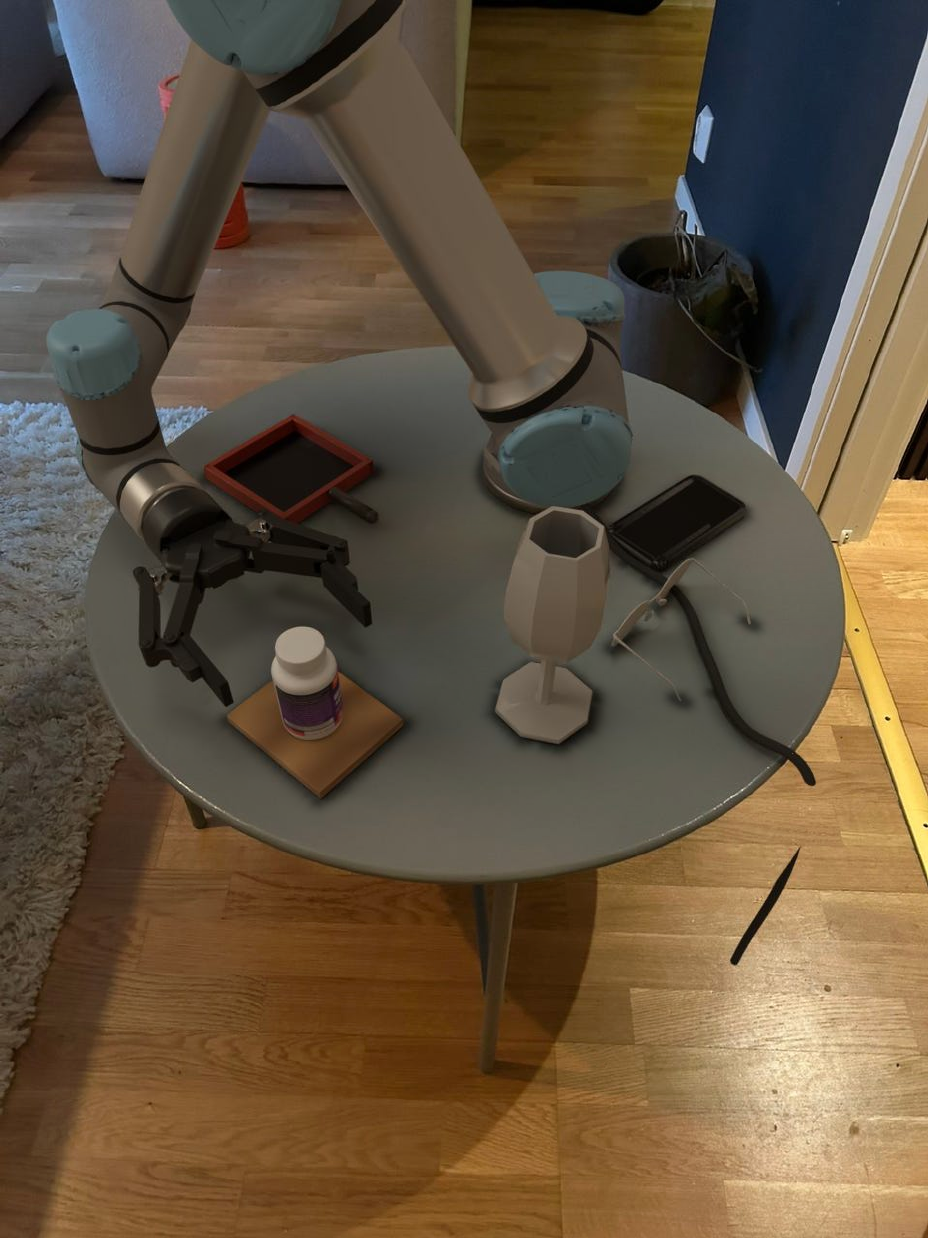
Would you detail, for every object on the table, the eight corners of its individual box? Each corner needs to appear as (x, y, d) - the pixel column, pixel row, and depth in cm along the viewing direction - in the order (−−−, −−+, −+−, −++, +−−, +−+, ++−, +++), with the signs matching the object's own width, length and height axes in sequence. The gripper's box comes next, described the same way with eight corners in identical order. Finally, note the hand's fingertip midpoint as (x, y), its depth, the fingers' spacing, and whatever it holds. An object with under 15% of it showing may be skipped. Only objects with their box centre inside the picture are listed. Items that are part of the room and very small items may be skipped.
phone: (604, 528, 97) (694, 471, 103) (602, 536, 97) (692, 479, 104) (660, 568, 93) (751, 506, 99) (658, 575, 93) (748, 514, 100)
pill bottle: (353, 728, 79) (343, 656, 72) (294, 751, 77) (278, 679, 70) (331, 684, 82) (319, 611, 75) (274, 705, 81) (256, 632, 73)
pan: (420, 499, 101) (419, 483, 100) (331, 562, 94) (329, 546, 93) (295, 426, 111) (292, 410, 109) (205, 478, 104) (201, 463, 102)
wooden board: (403, 725, 80) (403, 718, 80) (320, 799, 75) (319, 793, 75) (311, 657, 86) (310, 650, 85) (228, 721, 81) (226, 715, 80)
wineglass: (563, 761, 78) (591, 590, 63) (477, 717, 81) (483, 544, 66) (608, 693, 83) (643, 520, 68) (525, 654, 86) (541, 480, 71)
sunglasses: (679, 580, 93) (696, 549, 89) (748, 629, 90) (768, 599, 86) (601, 657, 86) (615, 627, 82) (672, 713, 83) (690, 684, 79)
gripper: (296, 497, 94) (421, 614, 83) (63, 607, 83) (172, 759, 72) (286, 437, 88) (419, 554, 77) (35, 547, 77) (148, 702, 66)
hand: (300, 653), depth 74 cm, fingers open, 13 cm apart
